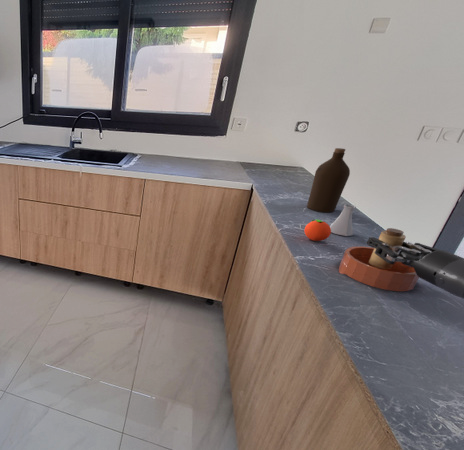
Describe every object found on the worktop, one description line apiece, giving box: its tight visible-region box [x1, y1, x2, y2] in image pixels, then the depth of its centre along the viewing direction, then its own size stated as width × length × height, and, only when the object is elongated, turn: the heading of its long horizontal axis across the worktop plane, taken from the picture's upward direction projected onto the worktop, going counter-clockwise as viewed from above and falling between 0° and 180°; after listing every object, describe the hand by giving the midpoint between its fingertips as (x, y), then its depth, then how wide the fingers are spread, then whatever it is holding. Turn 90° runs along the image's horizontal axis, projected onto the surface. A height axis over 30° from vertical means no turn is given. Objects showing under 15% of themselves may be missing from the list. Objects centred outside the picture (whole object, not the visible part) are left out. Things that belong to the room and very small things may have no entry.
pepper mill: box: [369, 227, 407, 269], centre depth 80 cm, size 4×4×10 cm
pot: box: [338, 245, 420, 292], centre depth 83 cm, size 15×15×6 cm
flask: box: [329, 203, 357, 237], centre depth 108 cm, size 7×7×10 cm
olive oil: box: [306, 147, 351, 213], centre depth 126 cm, size 11×11×25 cm
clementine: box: [303, 219, 332, 242], centre depth 104 cm, size 8×7×7 cm
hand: (378, 240), depth 82 cm, fingers closed on pepper mill, 4 cm apart
